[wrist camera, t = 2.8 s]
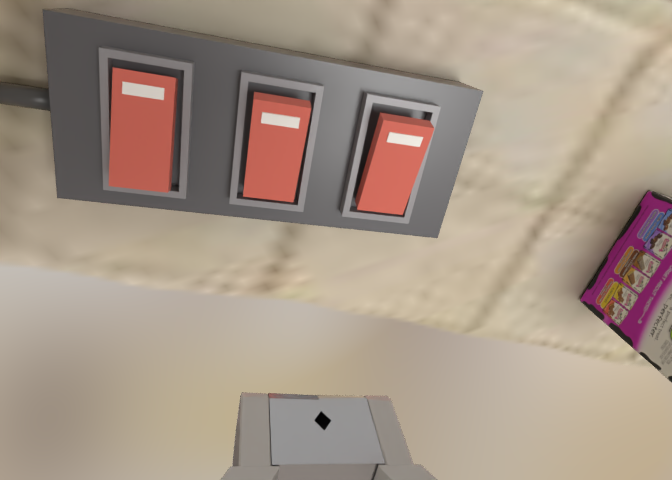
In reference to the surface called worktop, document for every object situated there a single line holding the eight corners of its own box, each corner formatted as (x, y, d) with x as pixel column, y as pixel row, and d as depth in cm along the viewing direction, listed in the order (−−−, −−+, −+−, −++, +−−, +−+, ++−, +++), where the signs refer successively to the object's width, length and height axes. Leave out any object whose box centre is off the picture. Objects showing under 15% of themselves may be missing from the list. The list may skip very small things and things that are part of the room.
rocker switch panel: (8, 169, 29) (-30, 195, 25) (-14, -7, 25) (-64, -9, 21) (421, 217, 35) (441, 243, 31) (460, 82, 31) (489, 93, 27)
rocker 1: (113, 183, 25) (108, 186, 24) (117, 69, 24) (112, 67, 23) (170, 189, 26) (167, 193, 25) (178, 79, 25) (175, 77, 24)
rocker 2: (243, 187, 28) (242, 197, 27) (254, 91, 24) (253, 100, 24) (292, 193, 29) (293, 203, 28) (310, 100, 25) (311, 109, 24)
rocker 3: (354, 200, 30) (357, 210, 29) (380, 112, 26) (383, 120, 25) (399, 205, 30) (402, 215, 29) (429, 120, 27) (435, 128, 26)
